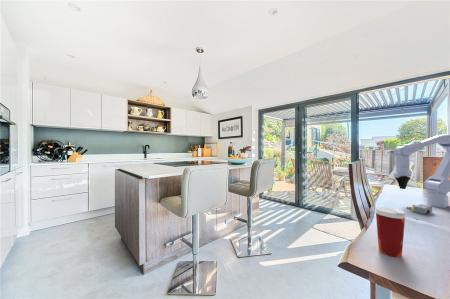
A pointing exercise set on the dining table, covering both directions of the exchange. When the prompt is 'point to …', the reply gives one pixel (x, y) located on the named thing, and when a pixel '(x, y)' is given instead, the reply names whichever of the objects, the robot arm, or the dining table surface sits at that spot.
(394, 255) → the paper cup
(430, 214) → the zinc pin
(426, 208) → the hitch block
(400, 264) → the dining table surface
